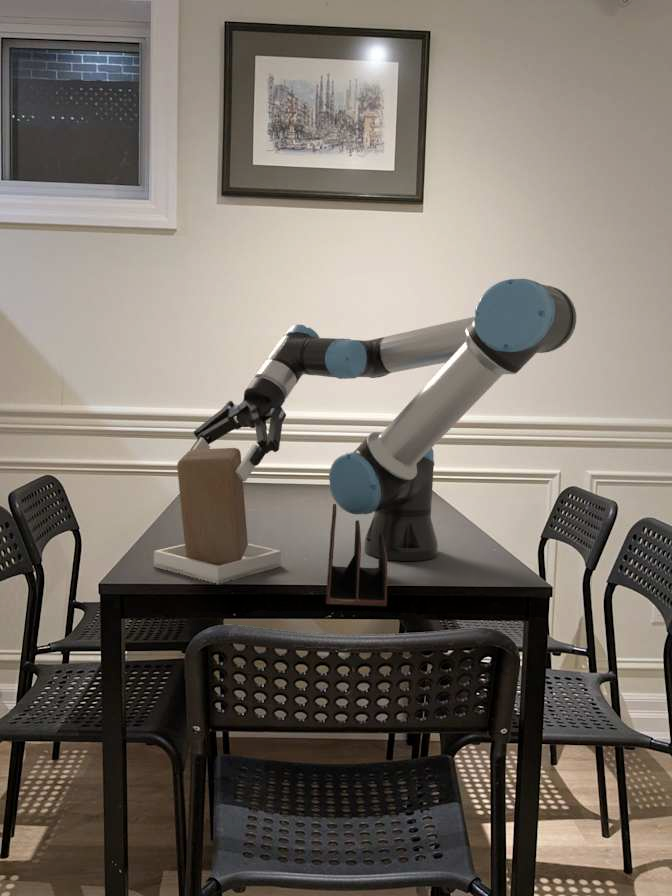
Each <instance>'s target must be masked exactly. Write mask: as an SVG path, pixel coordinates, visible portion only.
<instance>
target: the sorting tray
mask: <svg viewBox="0 0 672 896" xmlns="http://www.w3.org/2000/svg"><path fill="white" fill-rule="evenodd" d="M281 561H282V551H281V550H279V549H274V548H271V547H265V546H261V545H256V544H253V543H248V546H247V548H246V551H245V553H244V555H243V557H242V559H241V560H239V561H235V562H231V563H227V564H223V565H220V566H217V565H213V564H209V563H205V562H201V561H198V560H194V559H190V558H186V552H185V543H183V544H179V545H175V546H169V547H166V548H162V549H157V550H153V567H154V568H157V569H161V570H164V571H167V570H168V572H172V573H175V574H178V573H180V574H179V575H182V574H183V575H182V576H185V575H186V577H189V576H190V578H193V577H194V578H193V579H196V578H198V579H197V580H200V579H201V580H200V581H203V580H205V581H204V582H207V581H209V582H208V583H211V582H212V583H211V584H214V583H216V584H215V585H221V584H224V583H223V582H225V583H228V582H231V581H230V580H232V581H236V580H238V578H239V579H241V578H242V579H243V578H246V577H248V576H252V575H256V574H259V573H263V572H267V571H269V570H273V569H277V568H280V567H281V563H282V562H281ZM245 576H246V577H245ZM227 581H228V582H227ZM220 583H221V584H220Z"/></svg>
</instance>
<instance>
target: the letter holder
mask: <svg viewBox="0 0 672 896" xmlns="http://www.w3.org/2000/svg"><path fill="white" fill-rule="evenodd" d="M331 513H332V515H331V525H330V535H329V537H330V538H329V552H328V565H327V577H326V578H327V579H326V580H327V581H326V597H325V604H326V605H335V606H336V605H337V606H338V605H339V606H362V607H363V606H365V607H387V605H388V559H387V554H386V548H385V543H384V538H383V535H382V534H379V558H378V564H377V565H378V566H377V567H361V555H362V554H361V553H362V552H361V551H362V539H361V538H362V537H361V536H362V535H361V525H360V521H359V519H357V520H355V522H354V523H355V525H354V526H355V527H354V528H355V529H354V549H353V550H354V551H353V557H351V559H350V561H349V563H348V565H347V566H334V565H333V564H334V563H333V560H334V548H335V534H336V533H335V531H336V521H337V503H332V512H331Z"/></svg>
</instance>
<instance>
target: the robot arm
mask: <svg viewBox="0 0 672 896" xmlns="http://www.w3.org/2000/svg"><path fill="white" fill-rule="evenodd" d="M474 313H475V314H474V316H472V317H467V318H462V319H457V320H453V321H450V322H445V323H440V324H435V325H432V326H427V327H422V328H418V329H417V328H416V329H414V330H409V331H405V332H401V333H396V334H395V333H394V334H392V335H388V336H383V337H379V338H373V339H368V340H359V339H351V338H344V337H343V338H332V337H331V338H329V337H327V338H326V337H320V336H319V334H318V333H317V332H316V331H315V329H313V328H311V327H307V326H306V325H304V324H294V325H292V326H291V327H289V329H288V330H287V331H286V332H285V333H284V334H283V336H281V338H280V339H279V341H278V342H277V344H276V345H275V348H274V349H273V351H271V353H270V355H269V356H268V357H267V359H266V360H265V361H264V363H263V364H262V366H261V367H260V368H259V370H257V373H256V374H255V375H254V378H253V379H252V380H251V382H250V383H249V385H248V386H247V387H246V389H245V390H244V392H243V400H242V401H241V402H240V403H239V404H235V403H234V401H233V400H229V401H228V402H226V403H225V405H224V406H223V407H222V408H221V409H220V410H219V411H218V412H216V413H214V414H213V416H212V417H210V418H208V419H207V420H206V421H205V422H203V424H201V425H200V426H199V427H197V428H196V429H195V430H193V433H192V434H193V435H194V436H195V437H196V439H197V440H196V441H195V443H194V444H193V445H192V447H191V448H190V450H193V449H211V446H210V444H212V443H213V442H216V441H217V440H218V439H220V438H222V437H223V436H225V435H227V434H229V433H231V432H232V431H234V430H239V429H242V428H251V429H255V433H256V441H255V442H256V444H255V443H254V444H252V446H251V447H250V448H249V450H248V452H247V453H246V455H244V458H243V459H241V463H240V465H239V466H238V468H237V469H236V471H235V472H236V474H237V475H238V476H239V478H240V479H241V480H242V481H243V483H244V482H246V481H247V480H248V479H249V477H250V475H251V474H252V472H253V471H254V469H255V467H256V466H259V465H260V463H261V462H262V461H263V459H264V457H265V455H266V454H268V453H270V452H274V453H277V452H278V451H279V450H280V445H281V444H280V443H281V436H282V428H283V422H284V421H285V418H286V417H287V413H286V412H285V410H284V409H283V407H282V406H283V405H284V403H285V401H286V399H287V398H288V397H289V395H290V394H291V392H292V391H293V389H294V387H295V386H296V385H297V383H299V380H300V379H301V377H302V376H303V375H307V376H319V377H327V378H336V379H340V380H343V379H344V380H345V379H346V380H348V379H349V380H350V379H351V380H353V379H357V378H370V379H376V378H382V377H386V376H388V375H389V374H392V373H397V372H403V371H409V370H414V369H418V368H419V369H420V368H424V367H430V366H435V365H440V364H443V365H442V366H441V368H439V370H438V371H437V372H436V373H435V374H434V375H433V376H432V377H431V379H429V381H428V382H427V383H426V384H425V385H424V386H423V387H422V389H420V390H419V392H418V393H417V394H416V395H415V396H414V397H413V399H411V400H410V402H409V403H408V404H407V405H406V406H405V407H404V408H403V409H402V411H401V412H400V413H399V414H398V415H397V416H396V417H395V418H394V419H393V420H392V421H391V422H390V423H389V424H388V426H386V428H385V429H384V430H383V431H382V432H381V431H374V432H371V433H370V434H369V435H368V436H367V437H366V438H365V439H364V440H363V441H362V442H361V443H360V444H359V445H358V447H356V449H355V450H354V451H350V452H345V453H342V455H340V456H338V457H337V458H335V460H334V461H333V462H332V464H331V466H330V468H329V472H328V480H329V491H330V493H331V496H332V498H333V500H334V502H335V504H336V505H338V506H339V507H340V509H342V510H343V511H345V512H347V513H349V514H352V515H368V514H373V517H372V519H371V522H370V525H369V528H368V531H367V533H366V536H365V538H364V548H363V549H364V552H365V553H366V554H368V555H369V556H372V557H374V558H377V559H379V534H382V535H383V538H384V543H385V548H386V554H387V561H389V560H390V561H400V562H417V561H427V560H431V559H434V558H436V557H437V556H438V549H439V545H438V540H437V536H436V532H435V528H434V525H433V521H432V503H433V502H432V499H433V498H432V497H433V486H434V485H433V483H434V469H435V468H434V467H435V460H434V459H435V458H434V457H435V455H434V449H433V448H434V447H435V445H436V444H438V442H439V441H440V440H441V439H442V438H443V437H444V436H446V434H447V433H448V432H449V431H450V430H451V429H452V428H453V427H454V426H455V425H456V424H457V423H458V421H460V419H461V418H462V417H464V416H465V414H466V413H467V412H468V411H469V410H471V408H472V407H473V406H474V405H476V403H477V402H478V401H479V400H480V399H481V398H482V396H484V394H486V392H487V391H488V390H490V388H492V387H493V385H494V384H495V383H496V382H498V380H500V378H501V377H502V376H504V375H517V373H518V372H519V371H520V370H521V369H522V368H523V367H524V366H525V365H526V364H527V363H528V362H529V361H530V360H531V359H532V358H533V357H535V355H536V354H543V353H544V354H545V353H550V352H553V351H555V350H557V349H559V348H561V347H563V346H564V345H565V344H566V343H567V342H568V341H569V340H570V339H571V337H572V336H573V333H574V332H575V329H576V325H577V311H576V307H575V305H574V302H573V301H572V300H571V298H570V297H569V296H568V295H567V293H565V292H564V291H562V290H560V289H559V288H557V287H554V286H551V285H545V284H542V283H541V284H540V282H538V281H535V280H531V279H528V278H509V279H505V280H501V281H499V282H497V283H495V284H494V285H492V286H490V287H489V288H488V289H487V290H486V291H485V292H484V293H483V294H482V295H481V297H480V298H479V300H478V302H477V304H476V306H475V310H474ZM235 418H236V419H235ZM269 419H270V420H269ZM268 420H269V427H267V421H268ZM267 431H268V432H267Z"/></svg>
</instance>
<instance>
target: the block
mask: <svg viewBox="0 0 672 896" xmlns="http://www.w3.org/2000/svg"><path fill="white" fill-rule="evenodd" d="M241 462H242V454H241V451H240V449H239V448H236V447H222V448H221V447H220V448H219V447H218V448H209V449H193V450H191V449H190V450H188V451H187V452H186V453H185V454H184V456H182V457H181V458H180V459H179V460H178V462H177V465H176V468H177V478H178V487H179V488H178V489H179V499H180V508H181V510H180V511H181V518H182V519H181V520H182V529H183V539H184V540H183V541H184V542H183V543H184V544H185V552H186V558H190V559H194V560H198V561H201V562H205V563H209V564H213V565H217V566H220V565H223V564H227V563H231V562H235V561H239V560H241V559H242V557H243V555H244V553H245V551H246V548H247V546H248V541H249V540H248V530H247V528H248V527H247V519H246V518H247V516H246V505H245V491H244V481H242V480H241V479H240V478H239V476H238V475H237V474H236V472H235V471H236V469H237V468H238V466H239V465H240V463H241Z"/></svg>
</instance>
